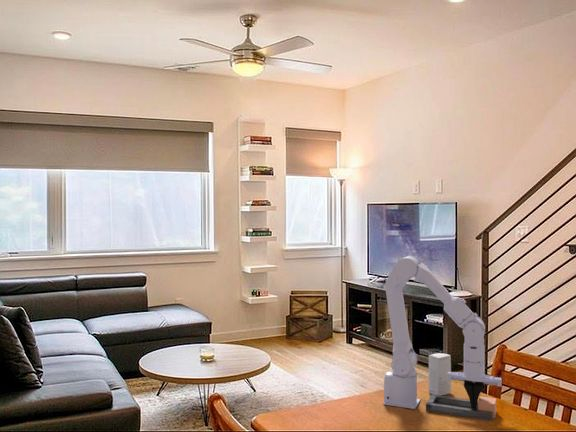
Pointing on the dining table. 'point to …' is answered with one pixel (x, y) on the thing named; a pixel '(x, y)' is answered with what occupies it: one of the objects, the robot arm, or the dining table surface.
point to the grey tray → (436, 406)
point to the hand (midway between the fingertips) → (474, 407)
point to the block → (487, 404)
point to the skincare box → (439, 374)
